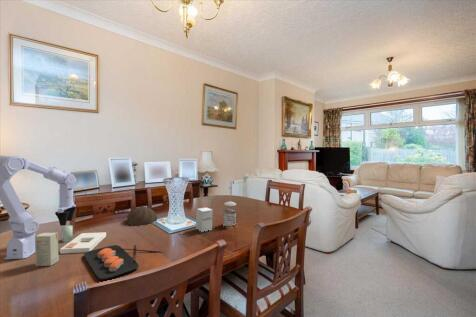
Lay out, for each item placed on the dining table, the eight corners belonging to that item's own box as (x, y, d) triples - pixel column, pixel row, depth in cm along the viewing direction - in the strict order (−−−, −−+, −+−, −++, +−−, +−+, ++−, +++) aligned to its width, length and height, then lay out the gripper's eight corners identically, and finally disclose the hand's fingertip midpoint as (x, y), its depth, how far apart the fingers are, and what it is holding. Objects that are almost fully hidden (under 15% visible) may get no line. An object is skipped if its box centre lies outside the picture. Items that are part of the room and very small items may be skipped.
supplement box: (201, 232, 132) (202, 211, 132) (195, 229, 138) (196, 208, 137) (212, 230, 137) (213, 209, 136) (206, 226, 142) (206, 207, 142)
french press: (239, 226, 145) (240, 187, 144) (222, 228, 140) (223, 188, 140) (234, 222, 154) (235, 185, 153) (217, 223, 150) (218, 185, 149)
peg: (69, 241, 115) (69, 228, 114) (59, 242, 114) (59, 228, 113) (74, 238, 119) (74, 225, 119) (64, 238, 118) (64, 225, 118)
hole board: (89, 252, 104) (89, 247, 104) (59, 253, 102) (59, 248, 101) (106, 235, 123) (106, 231, 123) (81, 236, 121) (81, 232, 121)
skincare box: (59, 261, 95) (59, 232, 95) (50, 266, 91) (50, 236, 90) (43, 260, 95) (43, 232, 94) (34, 266, 90) (34, 235, 90)
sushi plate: (82, 256, 100) (82, 248, 100) (149, 239, 121) (149, 232, 121) (99, 285, 80) (99, 275, 80) (176, 259, 101) (176, 250, 101)
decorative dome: (148, 227, 139) (148, 211, 139) (118, 224, 142) (119, 209, 142) (163, 218, 158) (163, 204, 158) (137, 216, 162) (137, 202, 161)
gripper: (70, 199, 111) (69, 226, 112) (80, 194, 125) (80, 218, 125) (52, 200, 109) (52, 228, 109) (65, 194, 123) (65, 219, 123)
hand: (66, 223), depth 117 cm, fingers open, 7 cm apart
